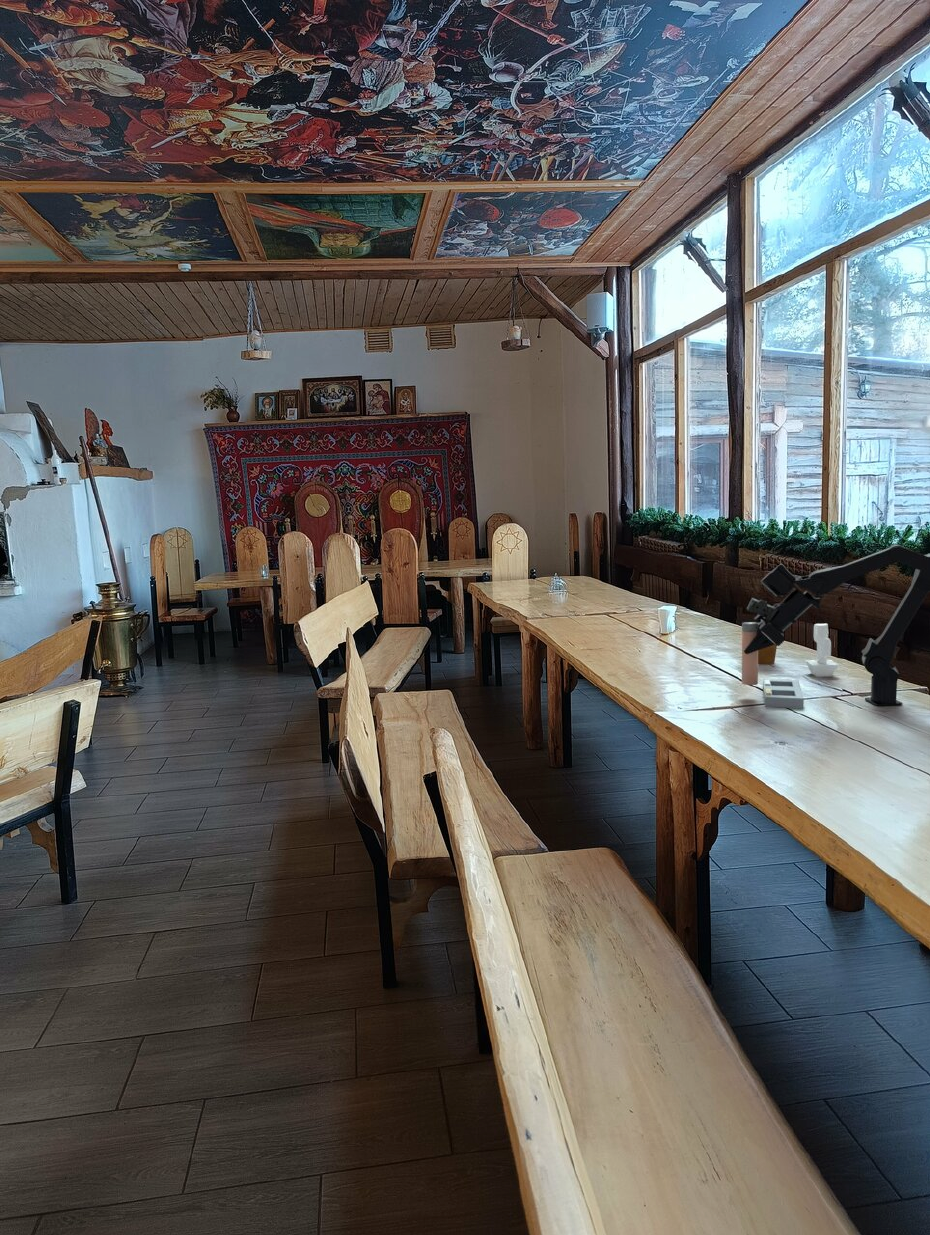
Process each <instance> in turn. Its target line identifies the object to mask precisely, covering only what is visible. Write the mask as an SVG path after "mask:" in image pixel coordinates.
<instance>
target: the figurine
mask: <svg viewBox="0 0 930 1235" xmlns="http://www.w3.org/2000/svg"><path fill="white" fill-rule="evenodd" d="M813 641H814V642H815V643H816V659H804V662H805V663H806V666H807V667H808V670H809V671H810V674H811V675H813V676H815V677H819V678H820V677H833V675H834V674H835V672H836V671H837V669H838V667H839V665H840V664H839V663H837V662H835V661H833V660H832V659H828V658H829V657H831V656H832V641H831V639H830V638H829V624H828V623H815V624H813Z"/></svg>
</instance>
